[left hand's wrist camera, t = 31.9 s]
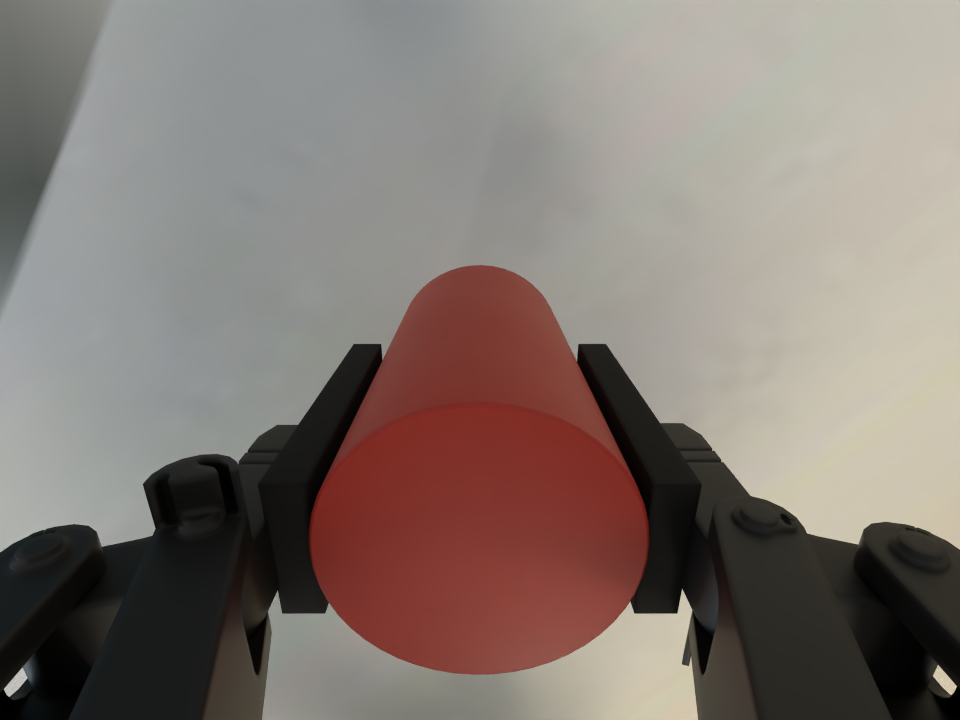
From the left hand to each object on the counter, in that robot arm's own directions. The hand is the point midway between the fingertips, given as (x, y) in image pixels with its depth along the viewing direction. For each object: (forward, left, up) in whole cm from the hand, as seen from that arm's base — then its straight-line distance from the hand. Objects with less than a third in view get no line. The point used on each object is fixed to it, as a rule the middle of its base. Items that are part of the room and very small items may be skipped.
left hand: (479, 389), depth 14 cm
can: (0, 0, -4) cm, 4 cm away
